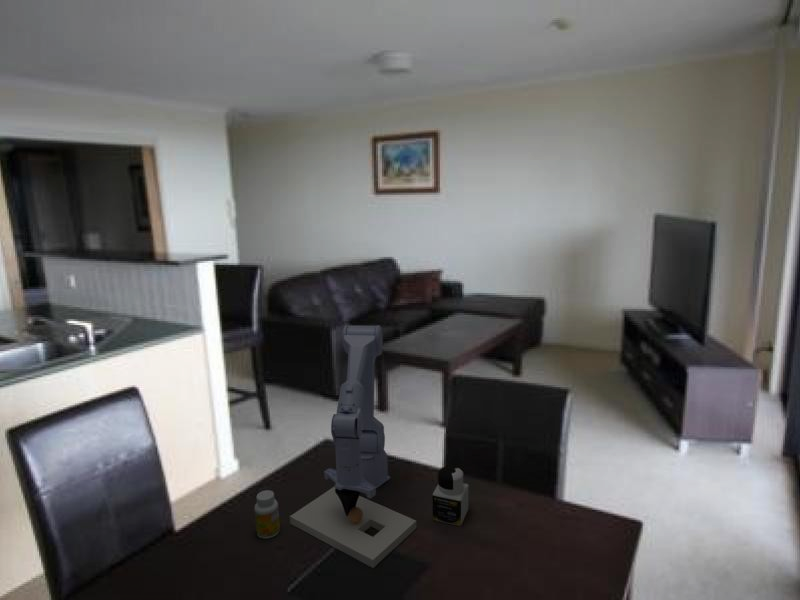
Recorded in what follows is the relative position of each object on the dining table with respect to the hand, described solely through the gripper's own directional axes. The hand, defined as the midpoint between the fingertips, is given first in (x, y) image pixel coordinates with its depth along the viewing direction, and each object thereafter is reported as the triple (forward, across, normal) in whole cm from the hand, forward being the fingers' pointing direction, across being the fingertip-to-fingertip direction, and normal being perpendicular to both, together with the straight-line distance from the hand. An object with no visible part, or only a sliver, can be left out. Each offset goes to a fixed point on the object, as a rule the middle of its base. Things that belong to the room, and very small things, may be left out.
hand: (350, 514), depth 122 cm
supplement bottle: (+4, -15, -13) cm, 20 cm away
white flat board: (+3, 0, 0) cm, 3 cm away
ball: (0, +1, 0) cm, 1 cm away
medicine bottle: (+3, +17, +18) cm, 25 cm away
